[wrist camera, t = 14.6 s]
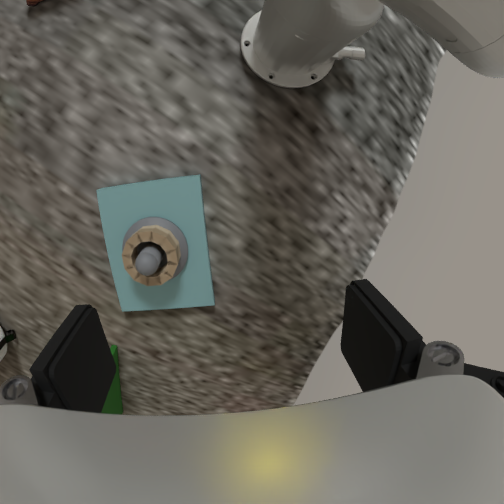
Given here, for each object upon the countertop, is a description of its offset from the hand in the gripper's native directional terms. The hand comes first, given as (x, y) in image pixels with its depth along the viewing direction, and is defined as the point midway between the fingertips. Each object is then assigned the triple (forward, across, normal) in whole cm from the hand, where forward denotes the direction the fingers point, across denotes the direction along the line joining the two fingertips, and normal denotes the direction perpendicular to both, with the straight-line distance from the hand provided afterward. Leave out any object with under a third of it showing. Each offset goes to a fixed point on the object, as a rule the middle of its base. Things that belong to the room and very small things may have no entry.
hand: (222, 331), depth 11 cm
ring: (+28, +10, +6) cm, 30 cm away
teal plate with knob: (+30, +10, +6) cm, 32 cm away
